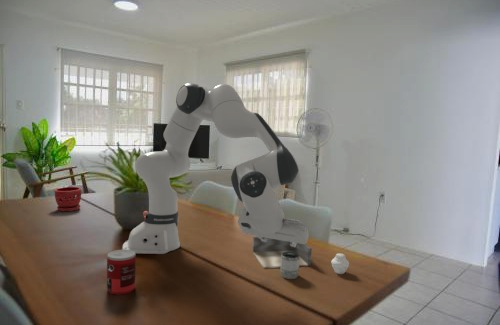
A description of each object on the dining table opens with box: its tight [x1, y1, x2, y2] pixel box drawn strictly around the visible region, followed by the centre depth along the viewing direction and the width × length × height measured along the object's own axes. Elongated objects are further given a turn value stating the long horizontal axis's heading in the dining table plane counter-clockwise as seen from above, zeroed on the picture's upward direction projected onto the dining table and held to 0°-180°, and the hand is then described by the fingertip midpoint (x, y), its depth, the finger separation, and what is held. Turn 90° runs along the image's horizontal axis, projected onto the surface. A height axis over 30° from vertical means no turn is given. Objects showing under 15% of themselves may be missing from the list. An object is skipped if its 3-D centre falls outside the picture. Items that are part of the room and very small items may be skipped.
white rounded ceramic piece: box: [331, 253, 350, 275], centre depth 123 cm, size 6×6×7 cm
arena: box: [252, 236, 313, 270], centre depth 134 cm, size 18×16×7 cm
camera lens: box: [279, 252, 300, 280], centre depth 119 cm, size 6×6×8 cm
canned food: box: [106, 248, 137, 296], centre depth 103 cm, size 8×8×11 cm
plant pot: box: [54, 186, 82, 212], centre depth 194 cm, size 13×13×12 cm
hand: (279, 242), depth 107 cm, fingers open, 8 cm apart
